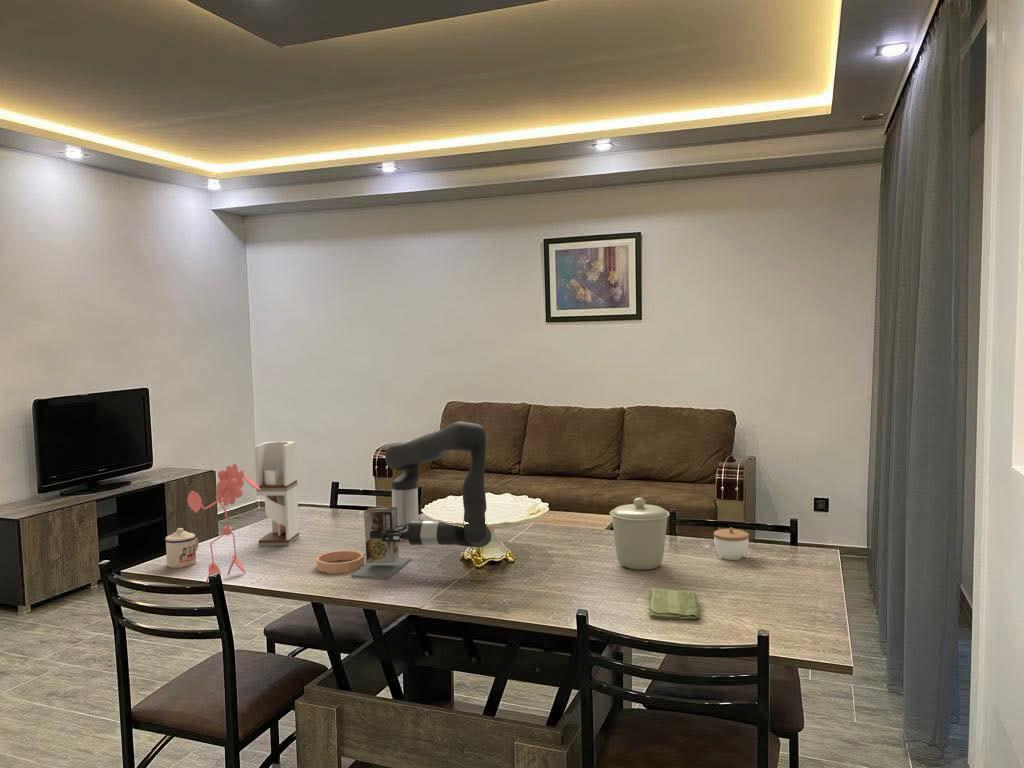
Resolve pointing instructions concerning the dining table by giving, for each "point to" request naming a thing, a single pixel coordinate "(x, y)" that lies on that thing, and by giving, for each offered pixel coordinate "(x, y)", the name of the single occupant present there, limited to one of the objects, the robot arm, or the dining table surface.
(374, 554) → the printed cardboard box
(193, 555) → the teacup with lid
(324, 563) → the terracotta ring
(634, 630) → the dining table surface
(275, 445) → the display case
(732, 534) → the lidded jar
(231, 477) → the pink flower stick figure
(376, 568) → the rubber mat
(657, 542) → the canister
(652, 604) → the washcloth
